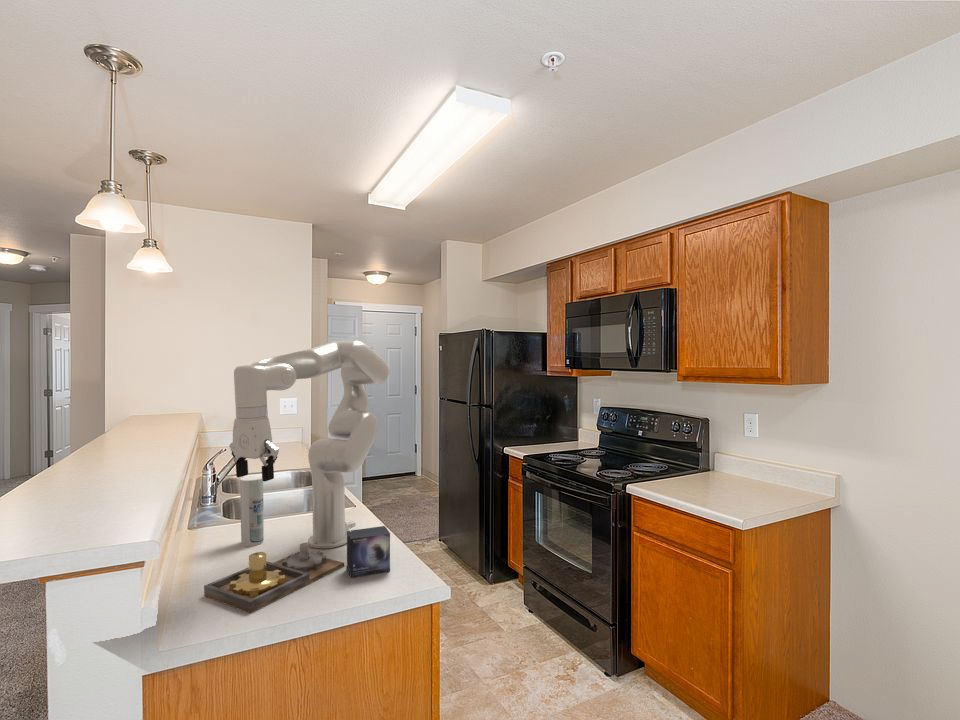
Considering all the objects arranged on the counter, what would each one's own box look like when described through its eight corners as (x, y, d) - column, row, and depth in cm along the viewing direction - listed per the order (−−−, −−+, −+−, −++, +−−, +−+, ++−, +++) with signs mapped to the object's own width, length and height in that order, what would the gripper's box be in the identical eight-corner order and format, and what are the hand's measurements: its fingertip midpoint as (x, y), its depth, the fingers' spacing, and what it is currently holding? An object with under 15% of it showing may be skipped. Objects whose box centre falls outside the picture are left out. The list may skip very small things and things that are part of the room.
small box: (350, 579, 133) (350, 538, 133) (346, 569, 139) (345, 530, 139) (391, 571, 138) (390, 532, 137) (385, 562, 144) (384, 524, 143)
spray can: (251, 538, 163) (250, 474, 163) (268, 540, 161) (267, 476, 161) (236, 545, 157) (235, 479, 157) (253, 547, 155) (252, 481, 155)
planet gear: (263, 571, 136) (262, 542, 136) (295, 581, 130) (295, 551, 130) (218, 590, 125) (218, 559, 125) (252, 602, 119) (251, 569, 119)
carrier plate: (300, 554, 150) (300, 532, 149) (344, 566, 141) (343, 542, 141) (204, 596, 124) (203, 569, 124) (250, 613, 116) (249, 584, 116)
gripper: (216, 413, 135) (220, 478, 136) (263, 416, 127) (266, 485, 128) (241, 409, 142) (244, 471, 143) (287, 412, 134) (290, 477, 135)
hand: (255, 478), depth 135 cm, fingers open, 9 cm apart
